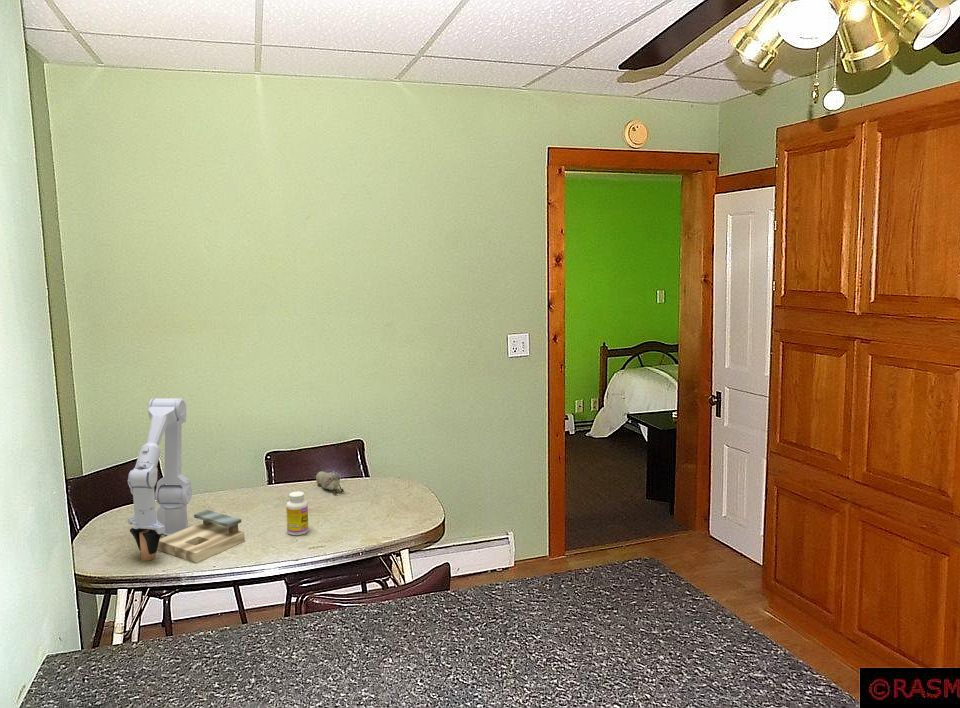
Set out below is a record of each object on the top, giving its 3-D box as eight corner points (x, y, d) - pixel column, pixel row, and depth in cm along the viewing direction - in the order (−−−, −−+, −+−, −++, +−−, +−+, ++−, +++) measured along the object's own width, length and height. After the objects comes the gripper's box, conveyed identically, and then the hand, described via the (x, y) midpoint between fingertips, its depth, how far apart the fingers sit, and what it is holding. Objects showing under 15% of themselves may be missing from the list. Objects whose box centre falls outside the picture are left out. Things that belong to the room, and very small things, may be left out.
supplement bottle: (303, 536, 234) (301, 498, 232) (283, 535, 235) (282, 496, 233) (312, 528, 241) (310, 491, 239) (293, 527, 242) (291, 489, 240)
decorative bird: (324, 483, 285) (323, 464, 284) (346, 494, 273) (346, 474, 272) (311, 486, 282) (311, 467, 280) (333, 497, 270) (333, 477, 269)
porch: (157, 549, 225) (155, 527, 223) (206, 529, 240) (204, 509, 239) (196, 562, 215) (194, 540, 214) (244, 541, 231) (243, 519, 230)
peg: (138, 558, 218) (136, 533, 217) (150, 553, 222) (148, 528, 220) (146, 561, 216) (144, 536, 215) (158, 556, 220) (157, 531, 218)
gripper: (117, 507, 217) (120, 550, 219) (148, 516, 209) (151, 562, 211) (138, 499, 223) (142, 542, 225) (169, 509, 215) (172, 553, 217)
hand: (148, 551), depth 219 cm, fingers closed on peg, 4 cm apart
